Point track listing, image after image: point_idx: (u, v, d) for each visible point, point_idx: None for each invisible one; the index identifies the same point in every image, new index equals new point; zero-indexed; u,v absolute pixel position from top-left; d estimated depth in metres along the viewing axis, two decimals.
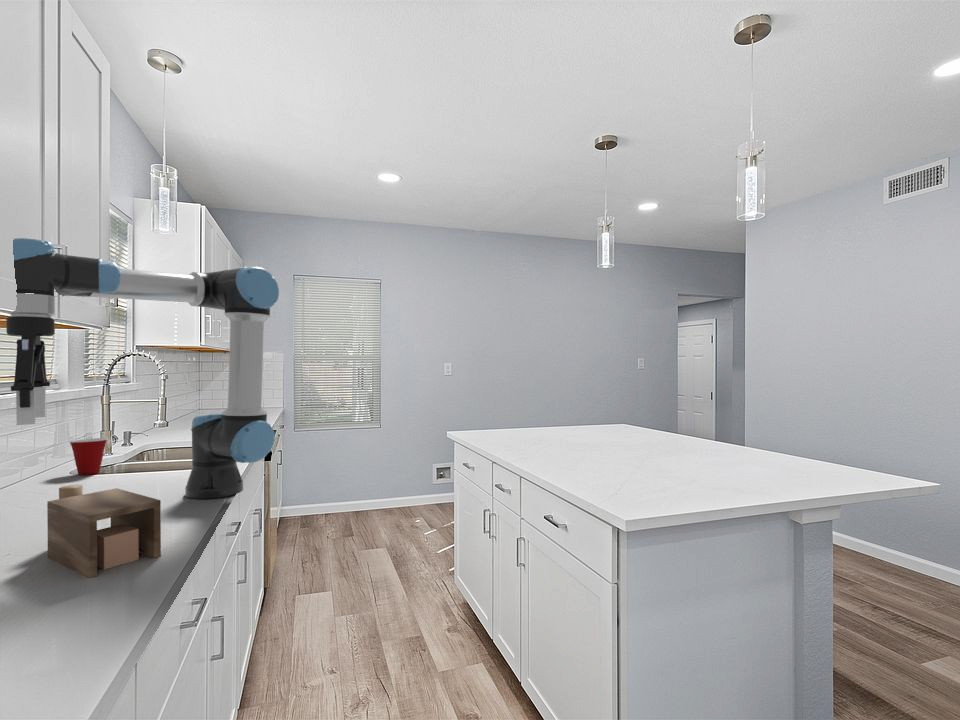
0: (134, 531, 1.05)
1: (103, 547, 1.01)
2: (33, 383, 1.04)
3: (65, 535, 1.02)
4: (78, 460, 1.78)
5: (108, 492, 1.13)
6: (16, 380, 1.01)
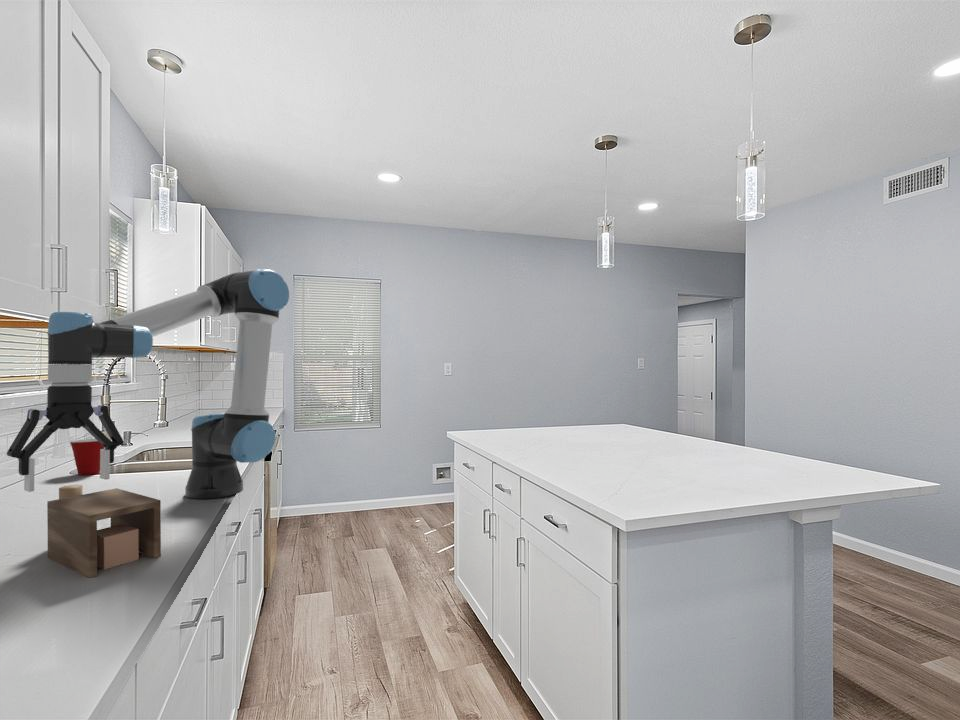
0: (134, 531, 1.05)
1: (103, 547, 1.01)
2: (30, 452, 1.08)
3: (65, 535, 1.02)
4: (78, 460, 1.78)
5: (108, 492, 1.13)
6: (9, 449, 1.07)
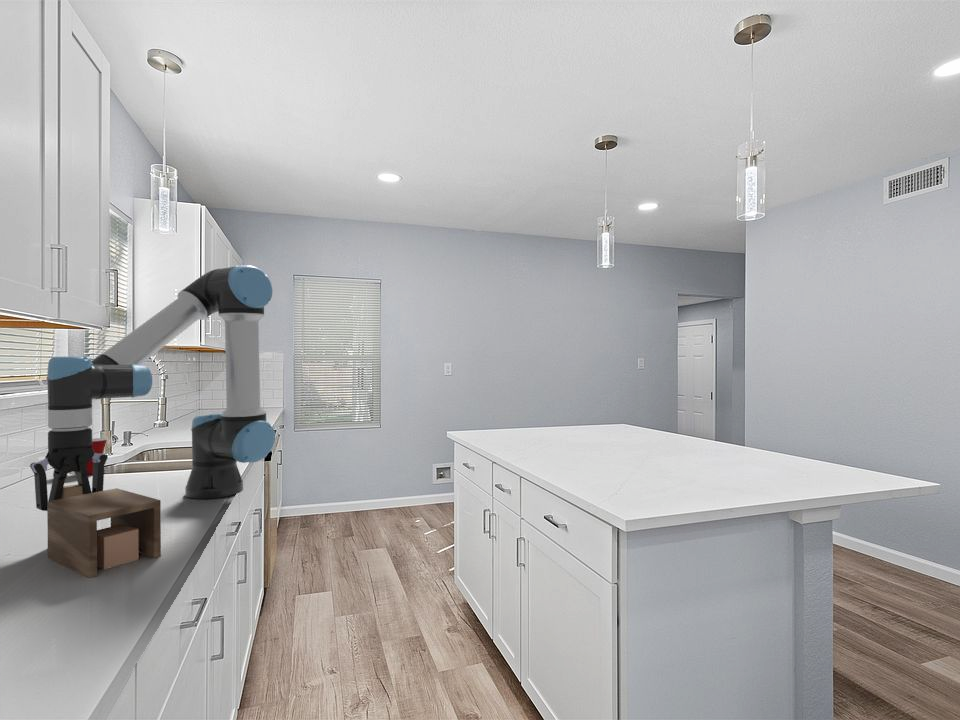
0: (134, 531, 1.05)
1: (103, 547, 1.01)
2: None
3: (65, 535, 1.02)
4: None
5: (108, 492, 1.13)
6: (36, 504, 1.10)
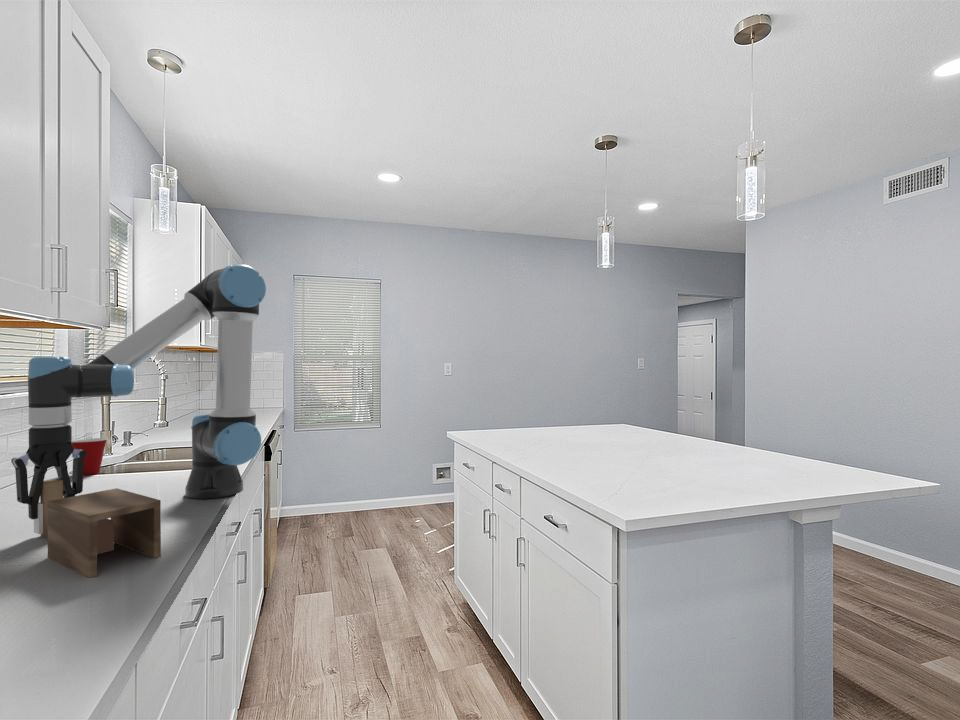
0: (109, 523, 1.10)
1: None
2: (37, 497, 1.17)
3: (65, 535, 1.02)
4: None
5: (108, 492, 1.13)
6: (17, 497, 1.16)
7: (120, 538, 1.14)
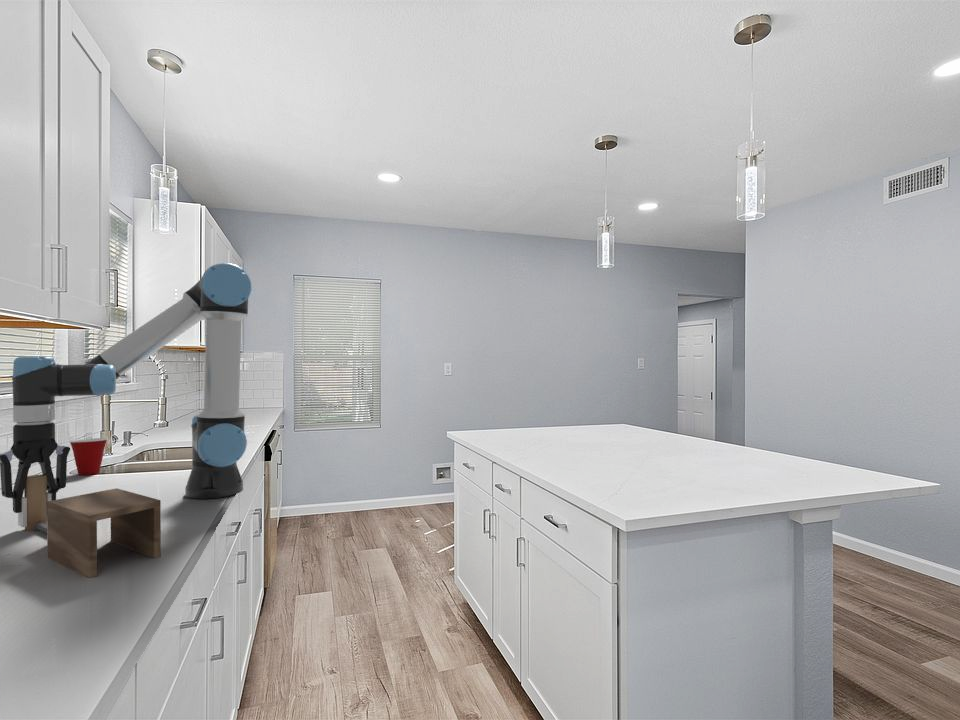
0: None
1: None
2: (21, 491, 1.22)
3: (65, 535, 1.02)
4: (78, 460, 1.78)
5: (108, 492, 1.13)
6: (2, 491, 1.20)
7: (120, 538, 1.14)
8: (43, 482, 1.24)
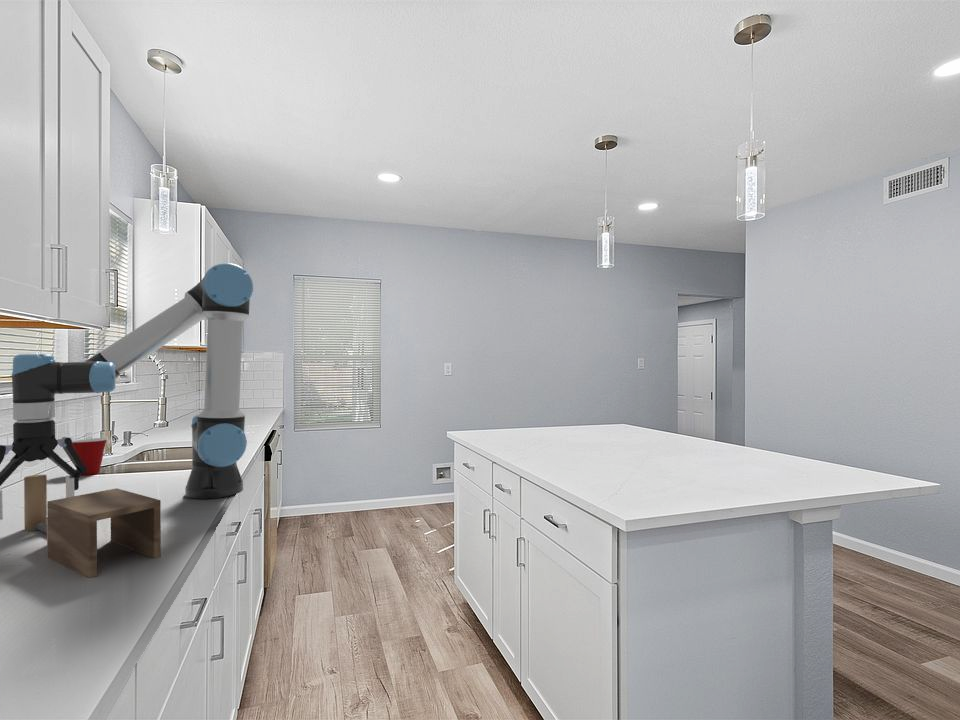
0: None
1: None
2: None
3: (65, 535, 1.02)
4: None
5: (108, 492, 1.13)
6: None
7: (120, 538, 1.14)
8: (43, 482, 1.24)
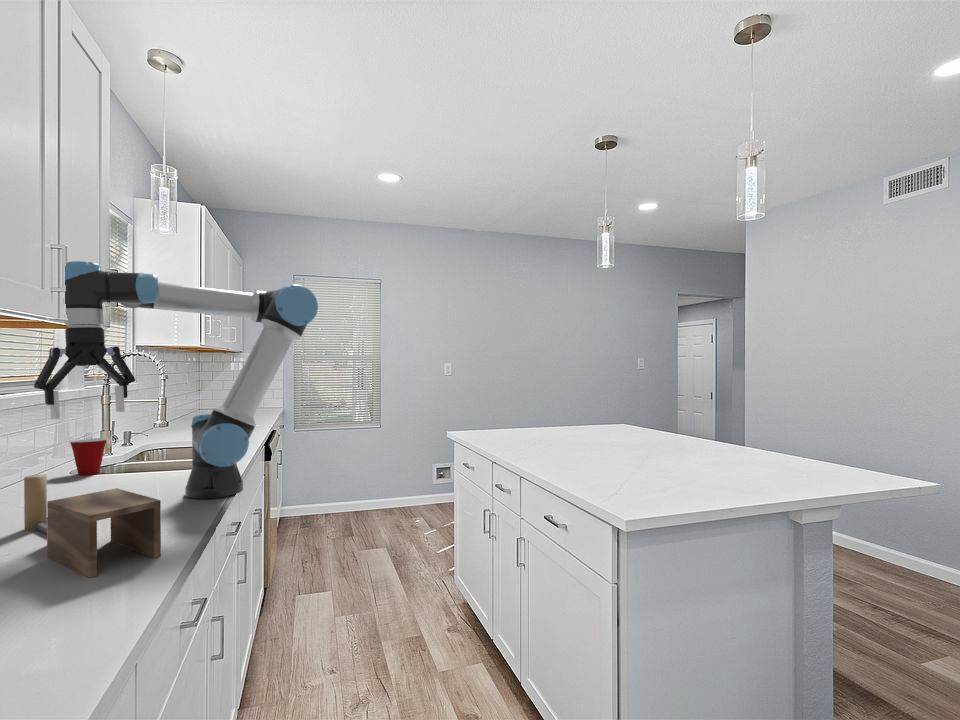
0: None
1: None
2: (54, 384, 1.23)
3: (65, 535, 1.02)
4: (78, 460, 1.78)
5: (108, 492, 1.13)
6: (35, 382, 1.22)
7: (120, 538, 1.14)
8: (43, 482, 1.24)
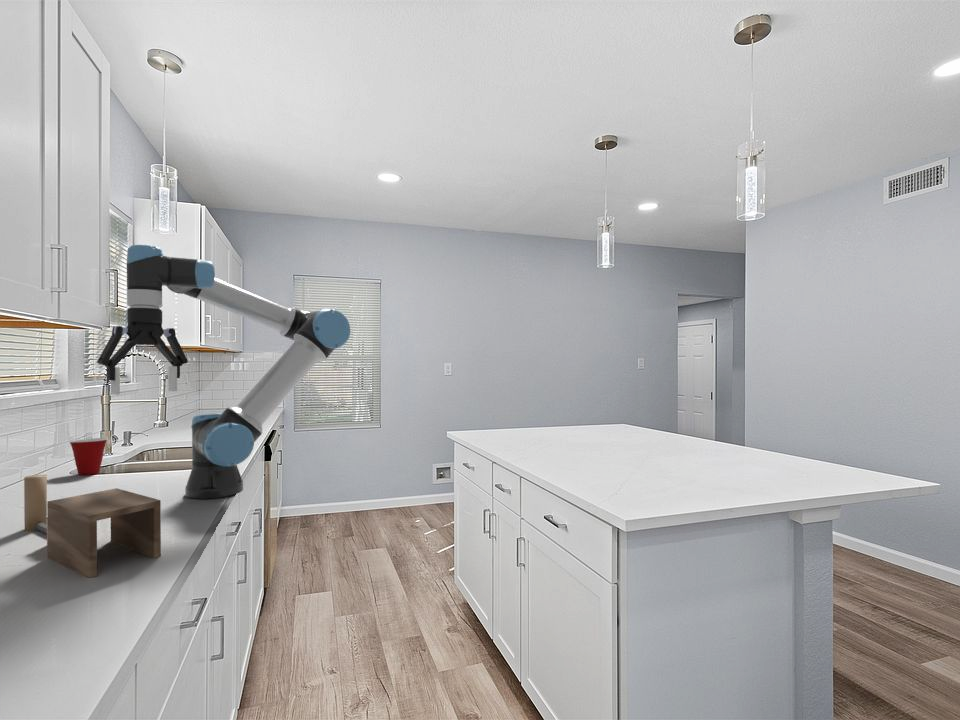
0: None
1: None
2: (116, 361, 1.28)
3: (65, 535, 1.02)
4: (78, 460, 1.78)
5: (108, 492, 1.13)
6: (99, 358, 1.27)
7: (120, 538, 1.14)
8: (43, 482, 1.24)
